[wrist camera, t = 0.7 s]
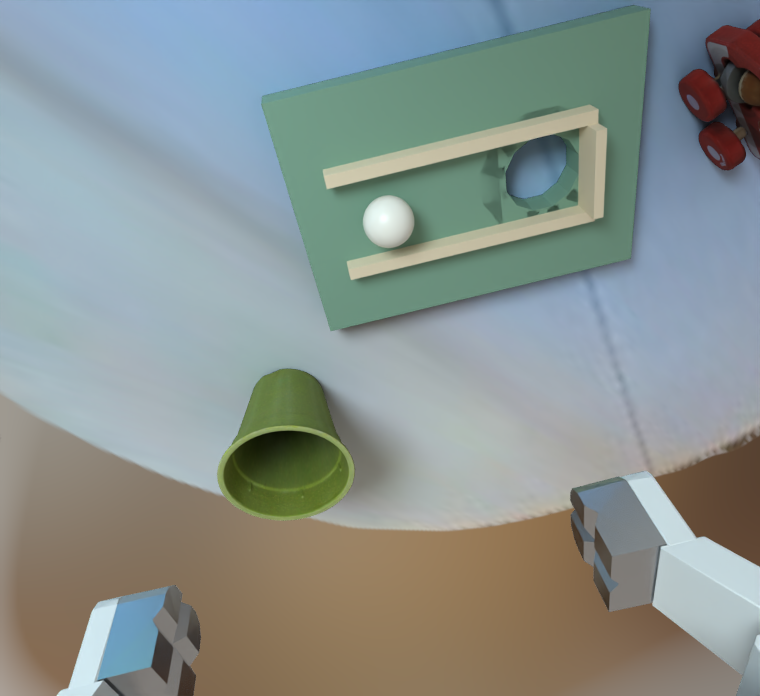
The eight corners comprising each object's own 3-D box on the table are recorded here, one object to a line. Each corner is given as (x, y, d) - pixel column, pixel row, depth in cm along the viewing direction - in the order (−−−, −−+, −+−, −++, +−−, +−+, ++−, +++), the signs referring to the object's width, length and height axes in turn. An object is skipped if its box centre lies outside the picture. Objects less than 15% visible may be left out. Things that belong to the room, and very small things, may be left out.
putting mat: (329, 316, 54) (333, 350, 50) (262, 96, 42) (259, 115, 38) (617, 246, 54) (647, 274, 49) (633, 5, 42) (674, 13, 37)
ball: (355, 194, 45) (360, 214, 42) (405, 182, 45) (414, 201, 42) (365, 239, 47) (371, 262, 44) (413, 228, 47) (422, 249, 44)
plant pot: (341, 342, 56) (352, 420, 47) (346, 429, 63) (357, 513, 54) (218, 352, 55) (205, 435, 46) (237, 441, 62) (229, 528, 53)
